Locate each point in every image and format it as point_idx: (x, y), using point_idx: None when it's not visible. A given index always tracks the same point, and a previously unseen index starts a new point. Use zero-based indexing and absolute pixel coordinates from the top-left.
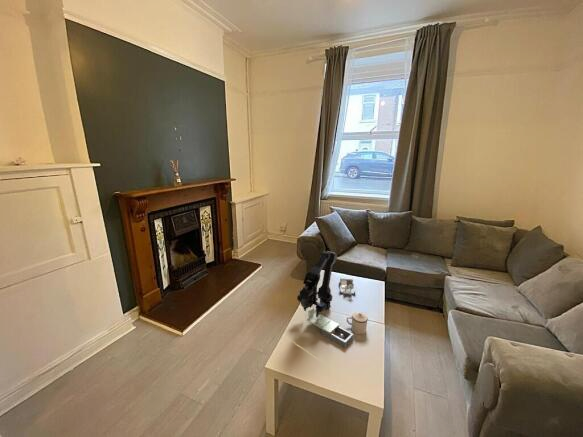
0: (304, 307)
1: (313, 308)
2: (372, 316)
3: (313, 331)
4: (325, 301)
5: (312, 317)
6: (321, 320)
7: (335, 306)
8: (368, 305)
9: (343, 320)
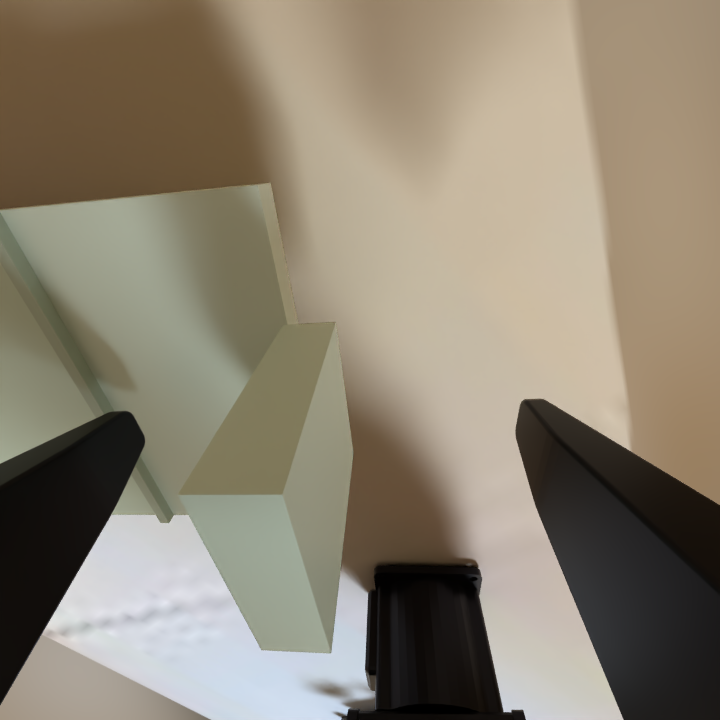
0: (612, 501)
1: (258, 624)
2: (114, 652)
3: (135, 173)
4: (399, 695)
5: (235, 362)
6: (59, 415)
7: (353, 625)
8: (219, 694)
9: (162, 551)
